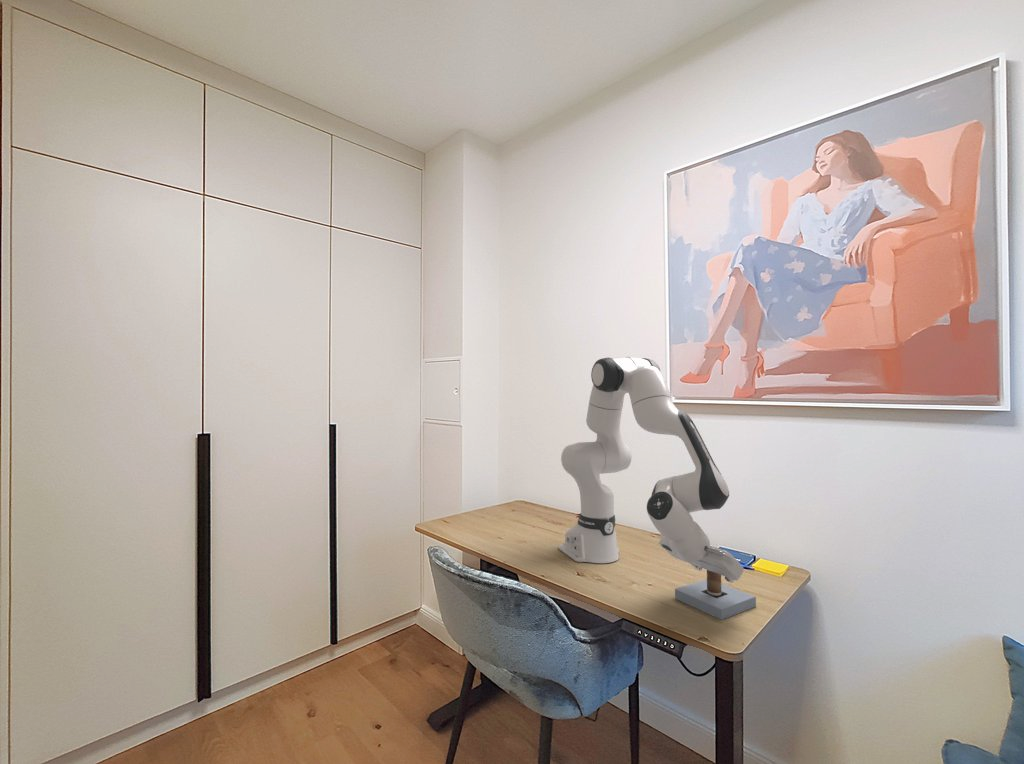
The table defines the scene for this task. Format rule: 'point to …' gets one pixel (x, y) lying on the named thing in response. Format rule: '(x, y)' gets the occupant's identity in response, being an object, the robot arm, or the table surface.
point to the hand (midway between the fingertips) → (715, 573)
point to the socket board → (715, 599)
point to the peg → (714, 584)
